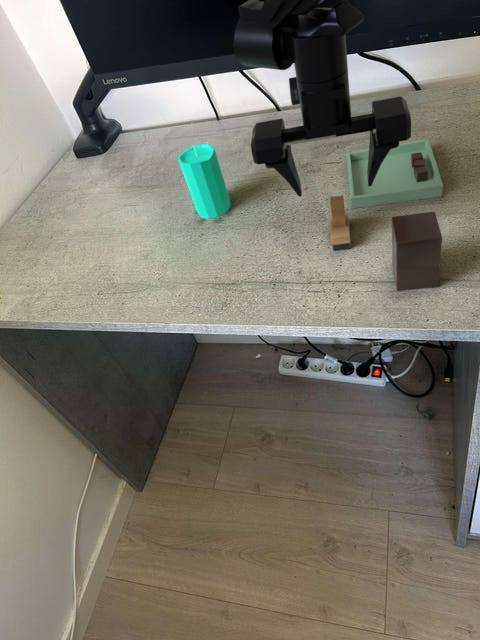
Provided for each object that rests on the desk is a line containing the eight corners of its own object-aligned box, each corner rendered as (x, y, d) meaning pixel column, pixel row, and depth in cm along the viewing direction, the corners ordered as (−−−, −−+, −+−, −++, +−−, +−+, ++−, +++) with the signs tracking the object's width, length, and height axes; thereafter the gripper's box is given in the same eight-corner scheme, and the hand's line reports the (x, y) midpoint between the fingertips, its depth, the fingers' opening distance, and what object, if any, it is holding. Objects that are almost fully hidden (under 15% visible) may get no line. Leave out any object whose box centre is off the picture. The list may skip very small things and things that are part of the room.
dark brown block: (431, 260, 64) (435, 211, 59) (438, 287, 61) (442, 237, 55) (392, 264, 66) (391, 216, 60) (396, 291, 62) (396, 243, 56)
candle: (201, 223, 82) (178, 160, 74) (194, 204, 86) (172, 142, 78) (234, 211, 82) (215, 146, 74) (226, 193, 86) (207, 130, 78)
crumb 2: (425, 168, 77) (425, 159, 76) (424, 173, 76) (425, 164, 75) (414, 168, 78) (414, 159, 76) (413, 174, 77) (414, 165, 75)
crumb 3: (425, 174, 76) (425, 165, 75) (427, 180, 75) (428, 171, 74) (414, 177, 76) (414, 168, 75) (417, 182, 75) (417, 173, 74)
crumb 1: (421, 160, 78) (421, 151, 77) (422, 166, 77) (423, 157, 76) (410, 162, 79) (411, 153, 78) (412, 167, 78) (412, 158, 77)
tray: (428, 149, 81) (428, 138, 79) (442, 196, 72) (443, 185, 71) (346, 162, 84) (346, 152, 83) (351, 208, 75) (350, 198, 74)
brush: (331, 225, 74) (326, 188, 69) (348, 223, 73) (345, 185, 68) (332, 251, 70) (327, 214, 65) (351, 249, 69) (347, 211, 65)
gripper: (400, 26, 58) (399, 146, 69) (246, 59, 62) (269, 167, 73) (413, 66, 50) (410, 192, 62) (238, 100, 55) (265, 213, 66)
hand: (334, 189), depth 66 cm, fingers open, 9 cm apart
